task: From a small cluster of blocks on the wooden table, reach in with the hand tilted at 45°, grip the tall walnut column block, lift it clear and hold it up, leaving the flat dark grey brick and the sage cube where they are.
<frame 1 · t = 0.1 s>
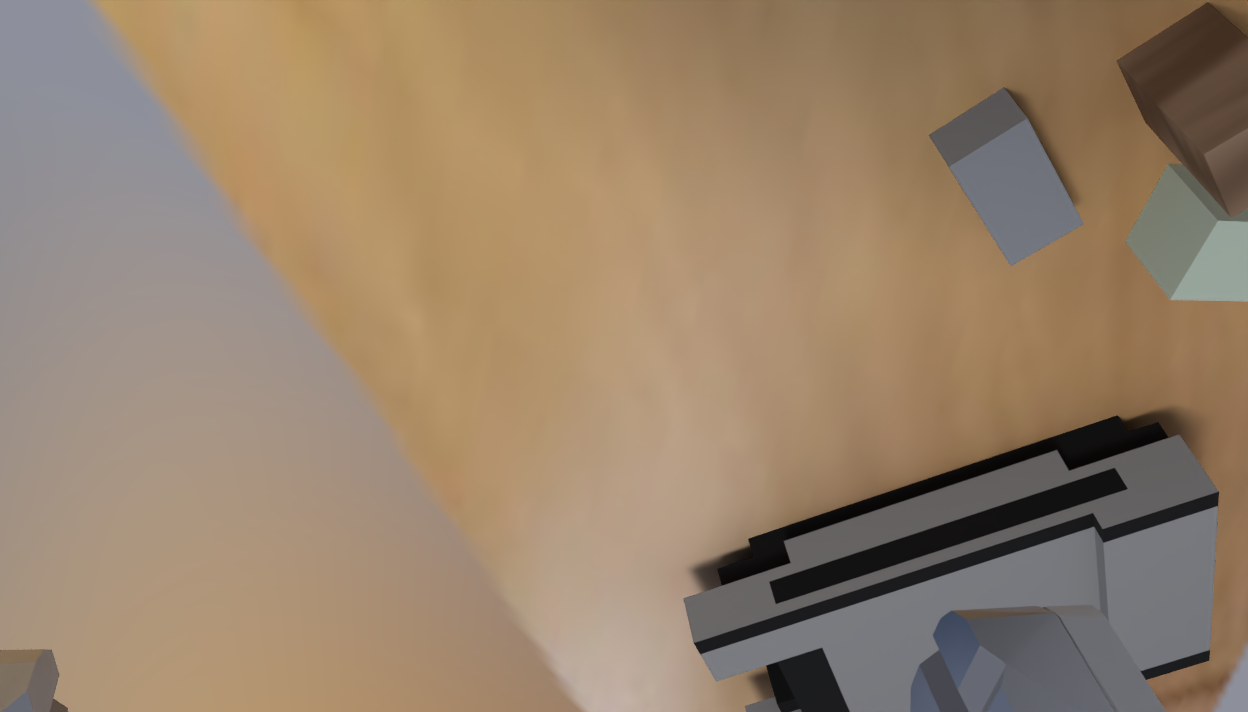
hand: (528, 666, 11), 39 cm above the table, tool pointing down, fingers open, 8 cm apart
game console: (927, 557, 81), on the table
grey flat brick: (994, 161, 57), on the table
walnut column: (1175, 64, 55), on the table
sage cube: (1186, 204, 61), on the table
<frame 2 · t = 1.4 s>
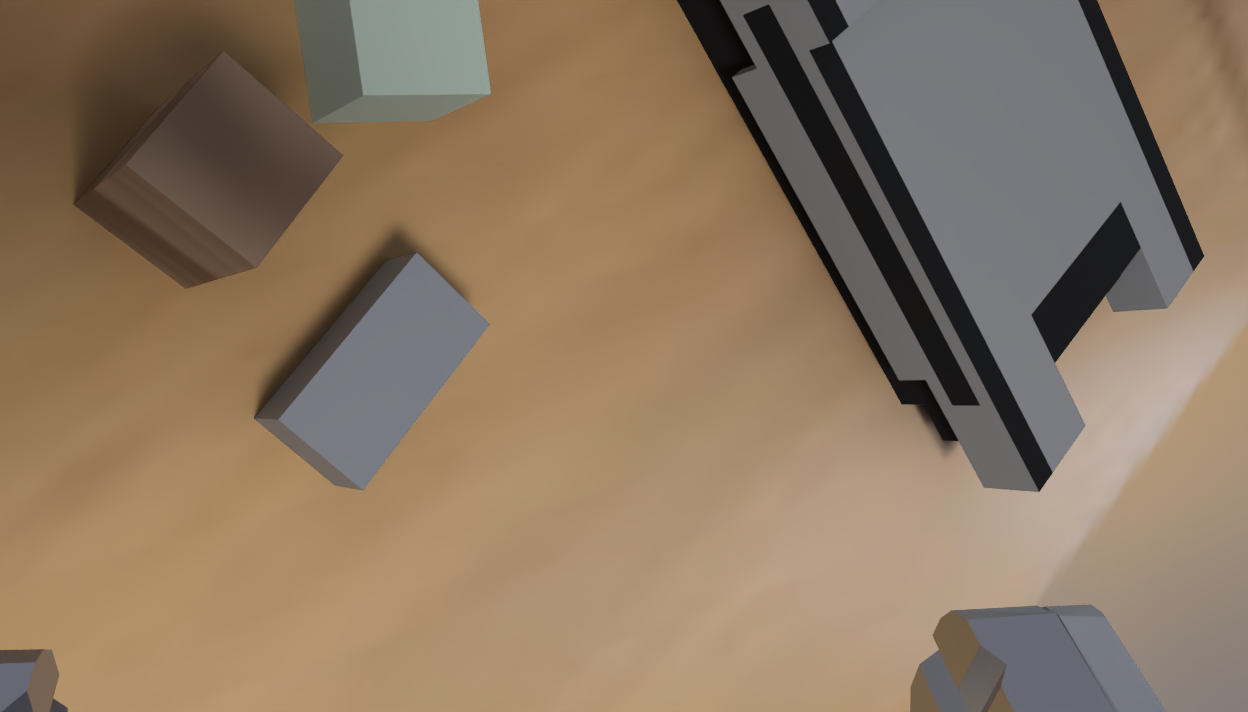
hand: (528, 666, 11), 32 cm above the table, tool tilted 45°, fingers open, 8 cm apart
game console: (899, 138, 63), on the table
grey flat brick: (358, 370, 44), on the table
walnut column: (171, 198, 40), on the table
sage cube: (364, 58, 44), on the table
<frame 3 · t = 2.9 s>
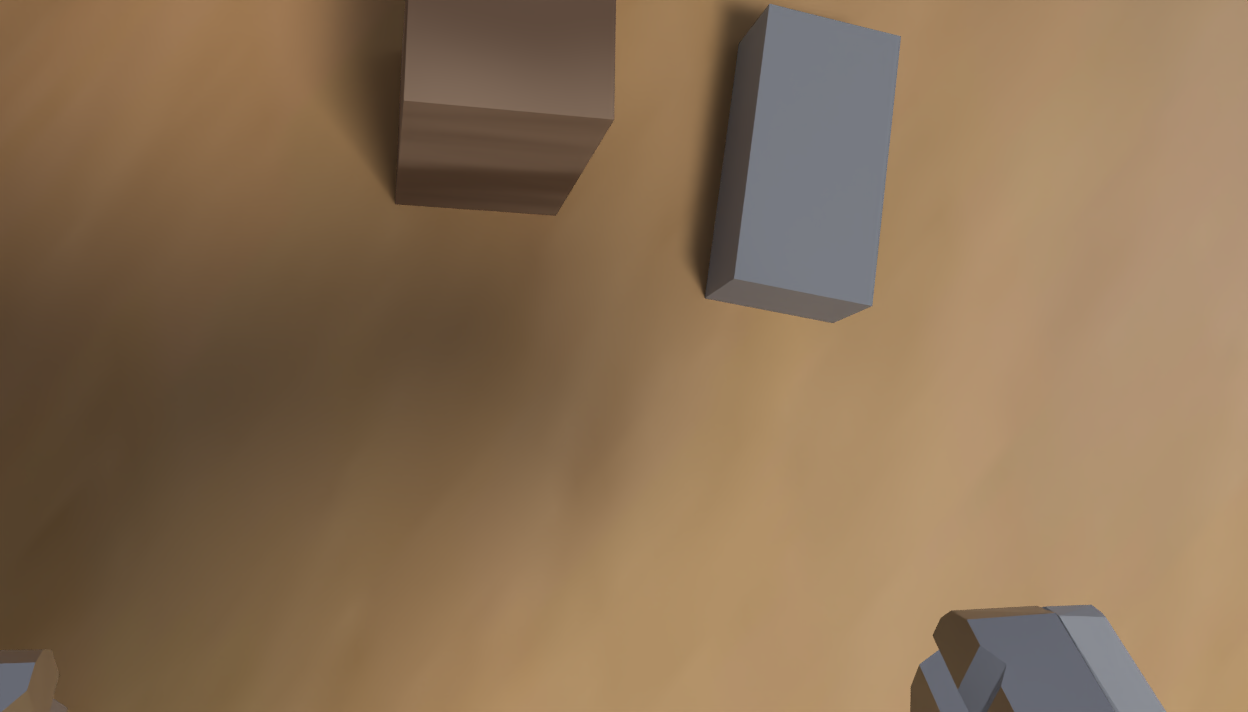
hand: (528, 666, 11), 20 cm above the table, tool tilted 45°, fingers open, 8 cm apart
grey flat brick: (782, 184, 35), on the table
walnut column: (479, 133, 32), on the table
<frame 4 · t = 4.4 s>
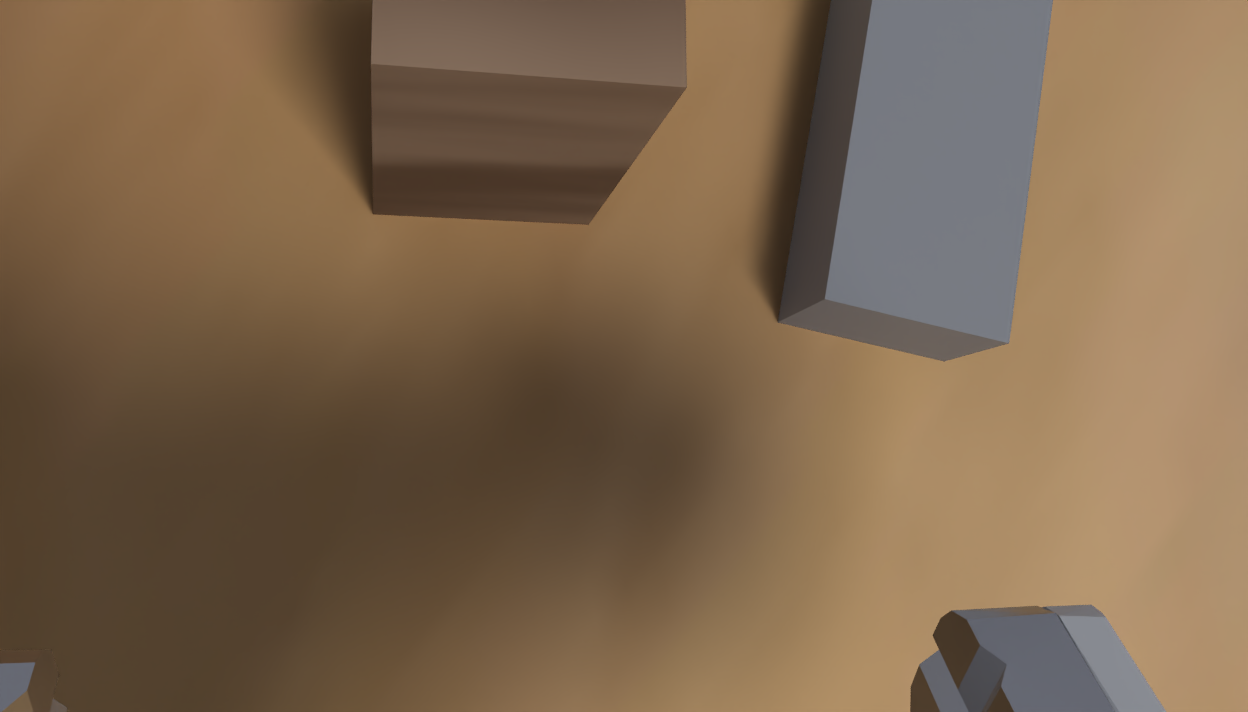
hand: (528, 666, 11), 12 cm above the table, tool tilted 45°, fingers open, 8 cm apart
grey flat brick: (882, 176, 26), on the table
walnut column: (484, 116, 24), on the table
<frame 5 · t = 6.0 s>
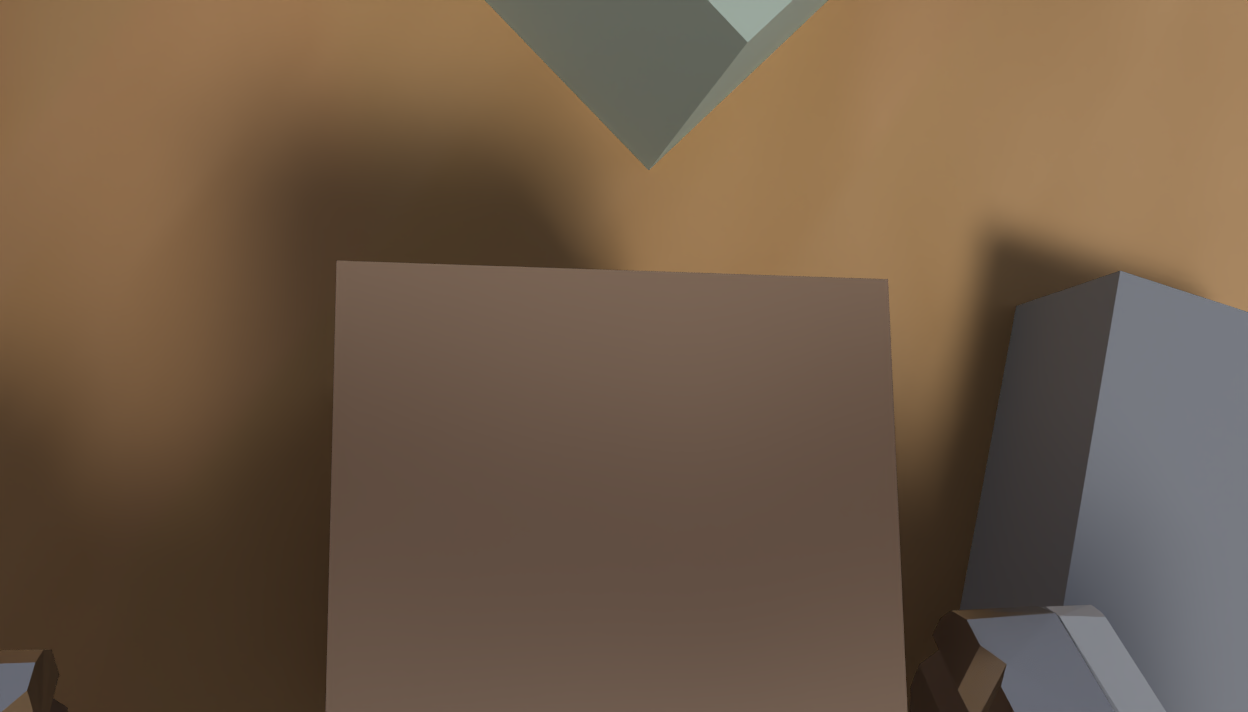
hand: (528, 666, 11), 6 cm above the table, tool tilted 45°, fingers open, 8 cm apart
grey flat brick: (1073, 574, 19), on the table
walnut column: (513, 539, 17), on the table
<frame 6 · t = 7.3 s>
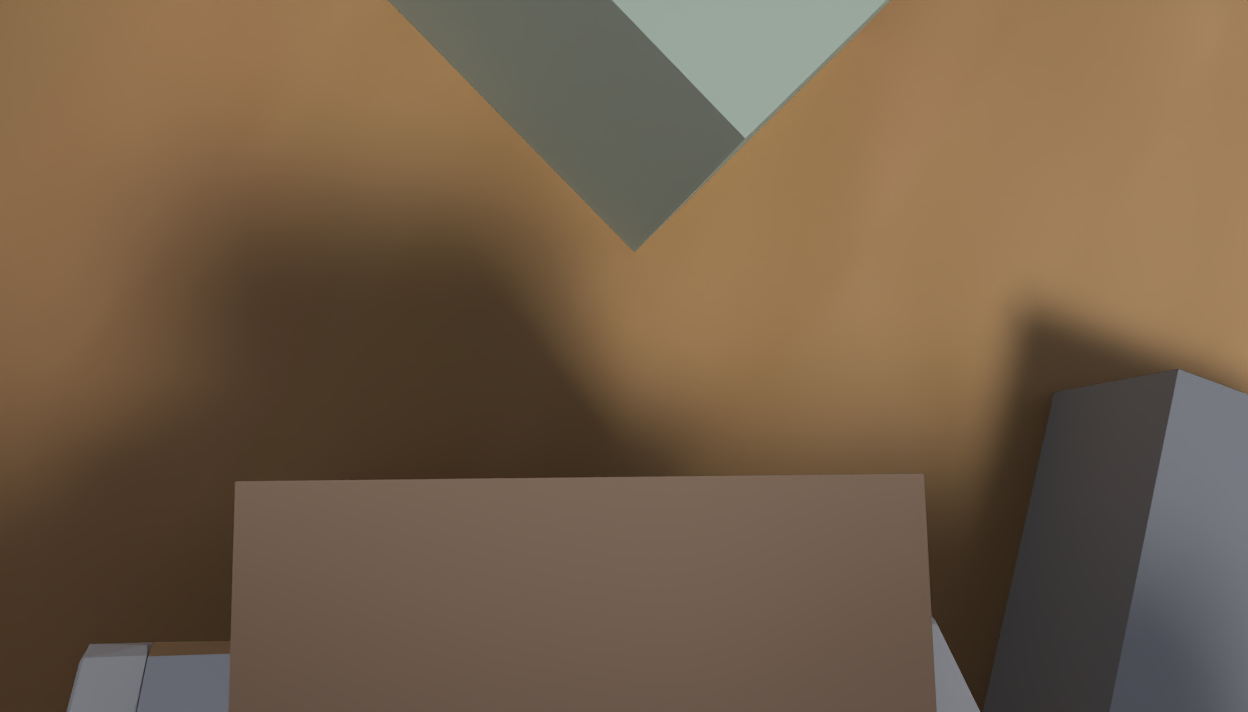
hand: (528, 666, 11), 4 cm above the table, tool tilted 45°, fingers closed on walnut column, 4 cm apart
grey flat brick: (1104, 690, 17), on the table
walnut column: (484, 673, 15), on the table, touching gripper
sage cube: (629, 15, 17), on the table
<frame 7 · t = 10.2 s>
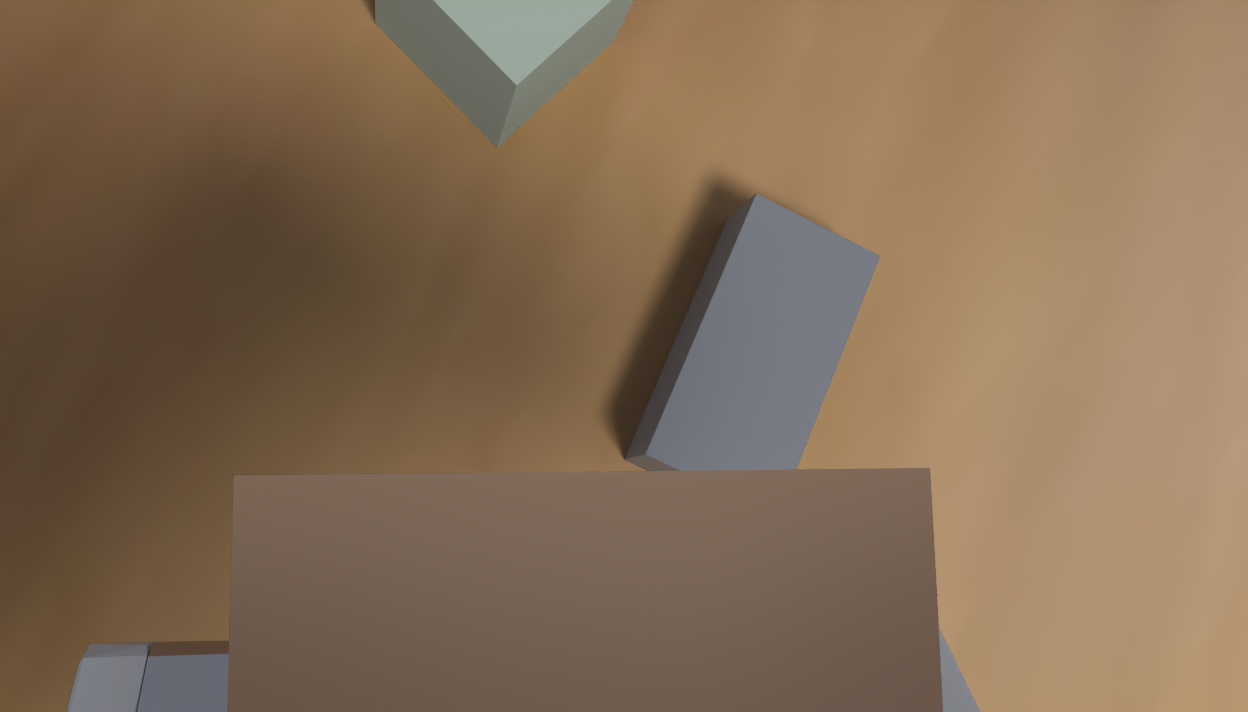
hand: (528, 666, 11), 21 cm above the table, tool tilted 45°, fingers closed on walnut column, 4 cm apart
grey flat brick: (733, 365, 34), on the table
walnut column: (486, 671, 15), point 17 cm above the table, touching gripper
sage cube: (496, 33, 34), on the table
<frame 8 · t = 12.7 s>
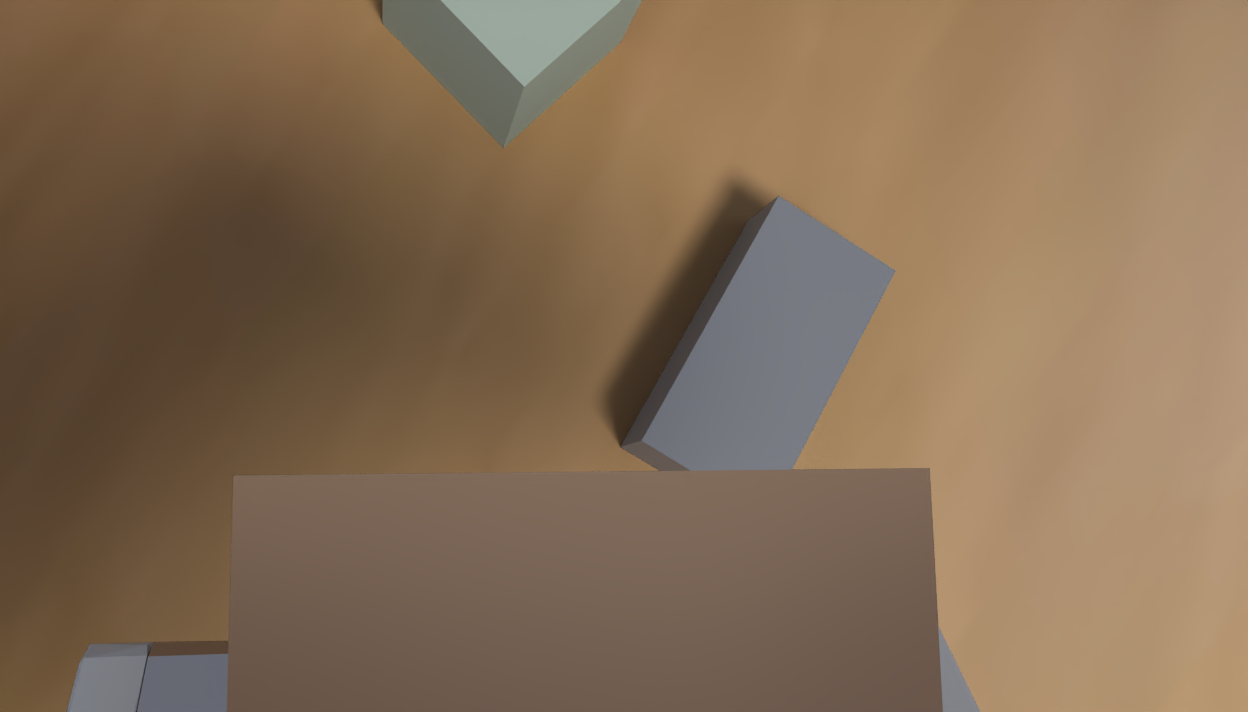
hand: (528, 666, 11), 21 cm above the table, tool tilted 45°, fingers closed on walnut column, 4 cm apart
grey flat brick: (739, 366, 34), on the table
walnut column: (486, 671, 15), point 17 cm above the table, touching gripper
sage cube: (503, 34, 34), on the table
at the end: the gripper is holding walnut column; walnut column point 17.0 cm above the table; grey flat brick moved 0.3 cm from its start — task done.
